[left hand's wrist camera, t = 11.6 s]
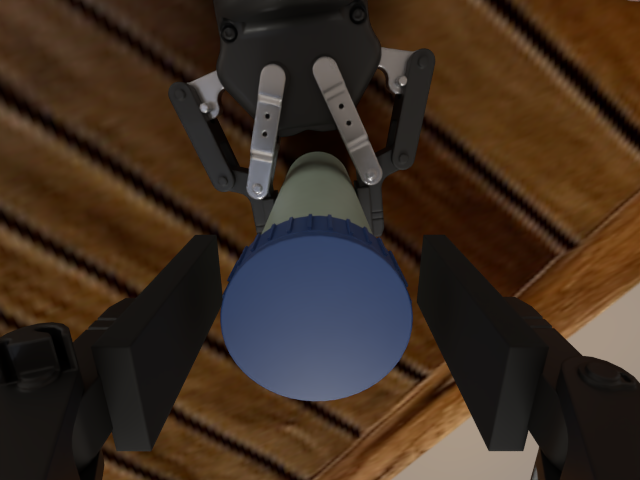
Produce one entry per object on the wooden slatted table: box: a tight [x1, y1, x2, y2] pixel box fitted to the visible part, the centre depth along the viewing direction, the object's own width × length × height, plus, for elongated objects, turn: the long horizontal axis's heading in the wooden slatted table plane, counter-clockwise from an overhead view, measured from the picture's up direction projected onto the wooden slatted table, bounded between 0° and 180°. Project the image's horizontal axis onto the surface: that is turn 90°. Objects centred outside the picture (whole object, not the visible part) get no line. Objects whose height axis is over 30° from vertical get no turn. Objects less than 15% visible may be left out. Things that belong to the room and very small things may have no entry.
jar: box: [262, 152, 373, 235], centre depth 20 cm, size 5×5×19 cm
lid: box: [221, 214, 413, 401], centre depth 11 cm, size 5×5×2 cm
